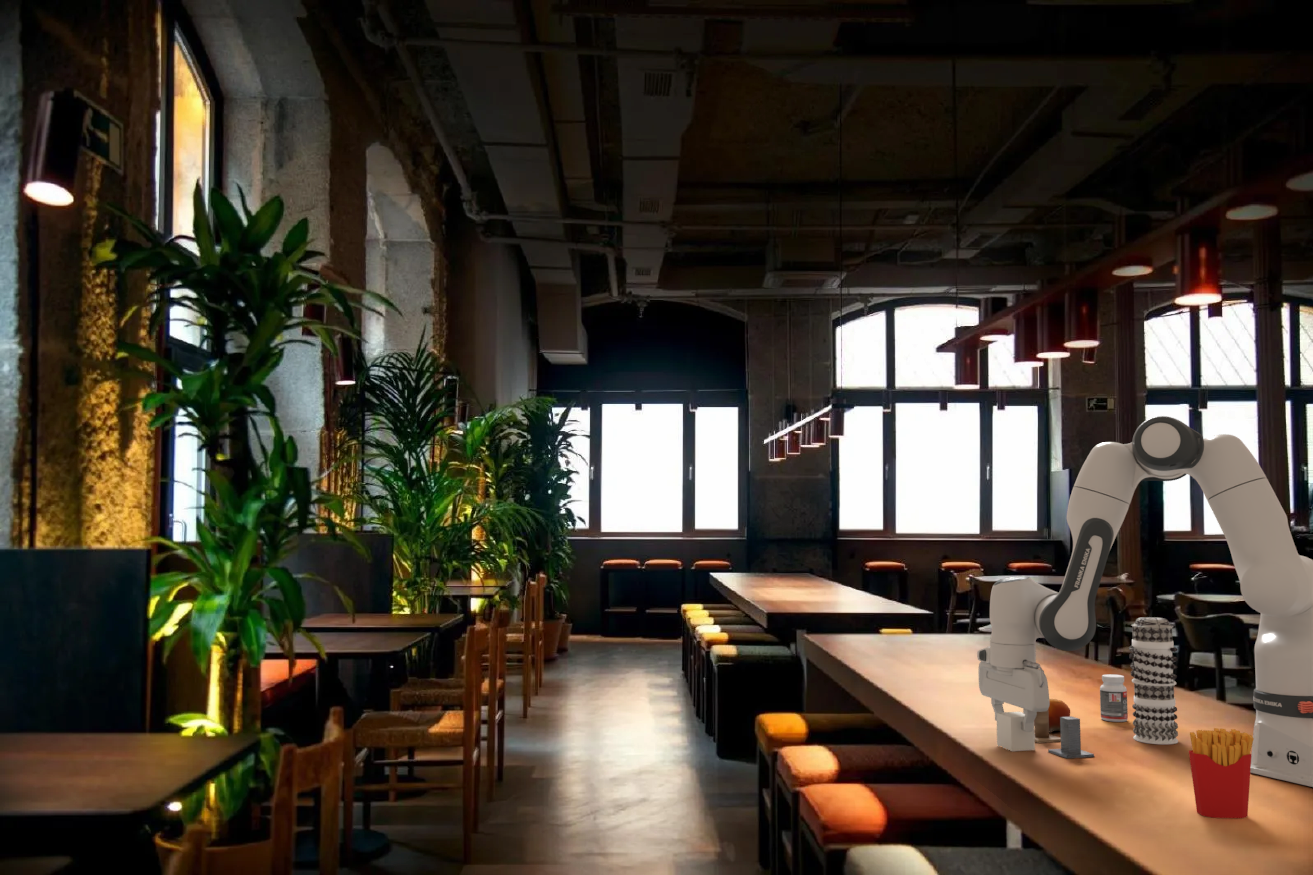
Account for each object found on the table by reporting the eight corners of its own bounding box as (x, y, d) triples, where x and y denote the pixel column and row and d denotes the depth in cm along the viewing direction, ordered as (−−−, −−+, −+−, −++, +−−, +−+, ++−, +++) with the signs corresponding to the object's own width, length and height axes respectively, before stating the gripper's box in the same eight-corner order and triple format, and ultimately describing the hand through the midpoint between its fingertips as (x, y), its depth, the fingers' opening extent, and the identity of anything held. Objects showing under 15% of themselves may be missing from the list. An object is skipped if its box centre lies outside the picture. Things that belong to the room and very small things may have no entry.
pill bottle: (1130, 723, 245) (1129, 678, 246) (1103, 722, 247) (1102, 677, 247) (1124, 718, 251) (1123, 674, 252) (1098, 717, 252) (1097, 673, 253)
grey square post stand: (1094, 756, 212) (1093, 720, 212) (1066, 758, 210) (1065, 721, 211) (1074, 750, 218) (1073, 714, 218) (1048, 752, 216) (1047, 715, 217)
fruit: (1051, 730, 230) (1039, 694, 235) (1033, 743, 236) (1021, 708, 241) (1084, 728, 232) (1071, 692, 237) (1065, 741, 238) (1052, 706, 243)
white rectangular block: (1034, 749, 218) (1034, 716, 218) (1011, 751, 217) (1010, 717, 217) (1019, 744, 223) (1019, 711, 224) (997, 745, 222) (996, 712, 222)
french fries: (1198, 817, 170) (1195, 732, 171) (1187, 810, 174) (1184, 727, 175) (1260, 819, 169) (1257, 733, 170) (1248, 811, 173) (1244, 727, 174)
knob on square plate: (1063, 741, 226) (1062, 706, 227) (1037, 742, 225) (1037, 708, 225) (1046, 735, 232) (1045, 701, 232) (1021, 737, 230) (1020, 703, 231)
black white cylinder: (1155, 734, 233) (1151, 615, 235) (1190, 742, 224) (1186, 619, 226) (1121, 737, 230) (1117, 617, 231) (1156, 746, 221) (1152, 621, 223)
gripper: (1057, 664, 212) (1058, 736, 211) (999, 649, 232) (1000, 716, 231) (1028, 664, 211) (1029, 738, 210) (972, 650, 230) (973, 717, 230)
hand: (1013, 726), depth 221 cm, fingers open, 8 cm apart
